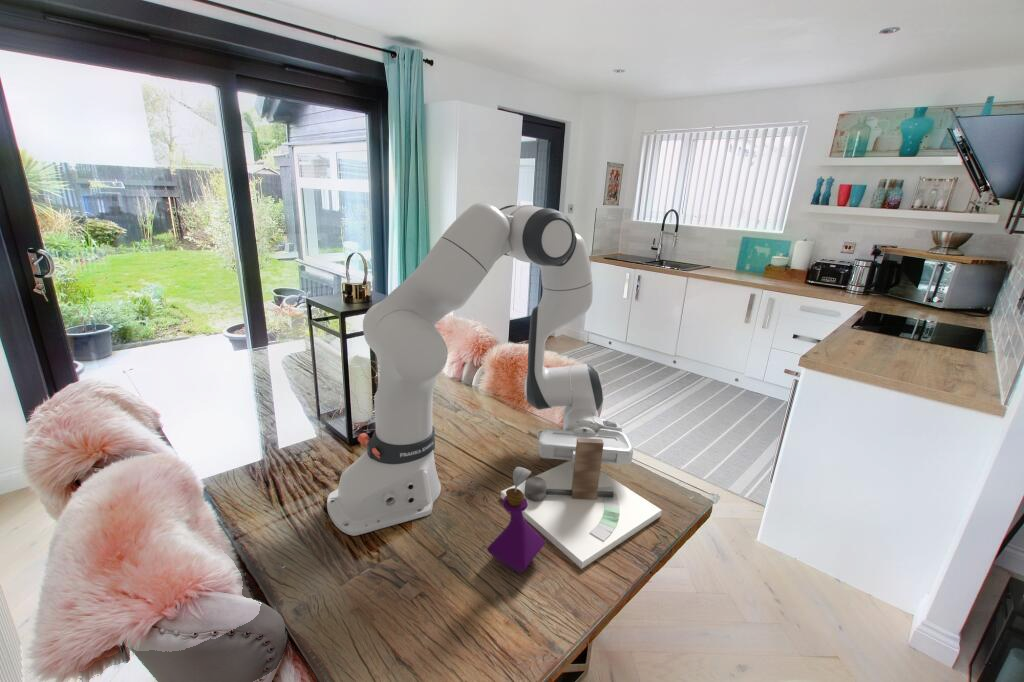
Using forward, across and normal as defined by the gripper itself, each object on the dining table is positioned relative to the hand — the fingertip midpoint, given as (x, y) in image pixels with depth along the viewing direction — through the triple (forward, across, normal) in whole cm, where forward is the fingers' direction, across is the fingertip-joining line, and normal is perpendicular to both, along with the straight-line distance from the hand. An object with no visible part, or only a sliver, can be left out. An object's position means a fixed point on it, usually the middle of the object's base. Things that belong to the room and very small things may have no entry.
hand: (586, 468), depth 91 cm
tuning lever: (+1, -3, +6) cm, 7 cm away
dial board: (+2, -1, +8) cm, 8 cm away
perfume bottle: (+18, -13, +8) cm, 23 cm away
